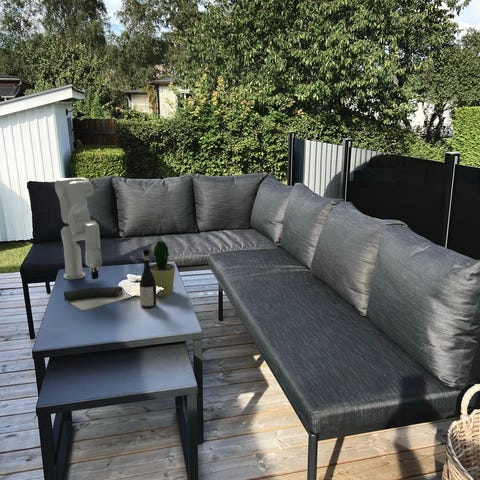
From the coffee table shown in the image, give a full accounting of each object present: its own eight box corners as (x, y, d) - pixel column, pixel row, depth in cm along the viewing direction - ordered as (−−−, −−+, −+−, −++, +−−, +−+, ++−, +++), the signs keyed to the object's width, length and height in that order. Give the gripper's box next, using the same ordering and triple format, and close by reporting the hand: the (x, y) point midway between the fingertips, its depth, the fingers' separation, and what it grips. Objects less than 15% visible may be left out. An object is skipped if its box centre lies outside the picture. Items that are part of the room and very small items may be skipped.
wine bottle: (152, 309, 243) (150, 252, 236) (138, 308, 244) (135, 251, 237) (158, 303, 250) (156, 248, 243) (144, 302, 252) (141, 247, 245)
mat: (66, 301, 253) (66, 300, 253) (121, 287, 275) (121, 286, 275) (82, 310, 240) (82, 310, 240) (139, 295, 263) (139, 294, 263)
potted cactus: (145, 289, 271) (143, 237, 264) (172, 286, 277) (171, 235, 270) (150, 298, 257) (148, 244, 250) (178, 295, 263) (177, 242, 256)
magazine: (58, 302, 250) (116, 302, 251) (58, 296, 249) (116, 296, 250) (69, 291, 266) (123, 291, 267) (69, 285, 266) (123, 285, 266)
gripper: (79, 244, 259) (82, 277, 264) (93, 249, 249) (95, 283, 253) (92, 242, 264) (94, 274, 269) (106, 247, 254) (108, 280, 258)
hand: (95, 278), depth 261 cm, fingers closed
